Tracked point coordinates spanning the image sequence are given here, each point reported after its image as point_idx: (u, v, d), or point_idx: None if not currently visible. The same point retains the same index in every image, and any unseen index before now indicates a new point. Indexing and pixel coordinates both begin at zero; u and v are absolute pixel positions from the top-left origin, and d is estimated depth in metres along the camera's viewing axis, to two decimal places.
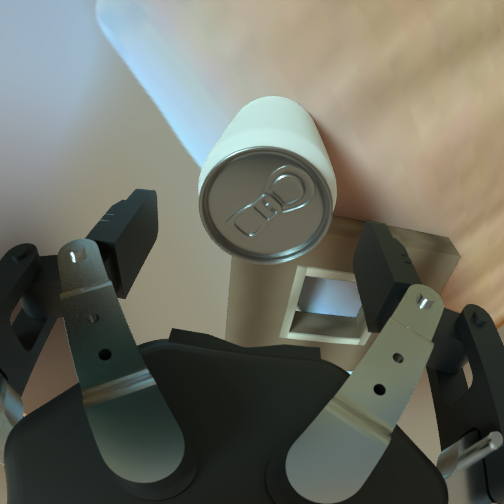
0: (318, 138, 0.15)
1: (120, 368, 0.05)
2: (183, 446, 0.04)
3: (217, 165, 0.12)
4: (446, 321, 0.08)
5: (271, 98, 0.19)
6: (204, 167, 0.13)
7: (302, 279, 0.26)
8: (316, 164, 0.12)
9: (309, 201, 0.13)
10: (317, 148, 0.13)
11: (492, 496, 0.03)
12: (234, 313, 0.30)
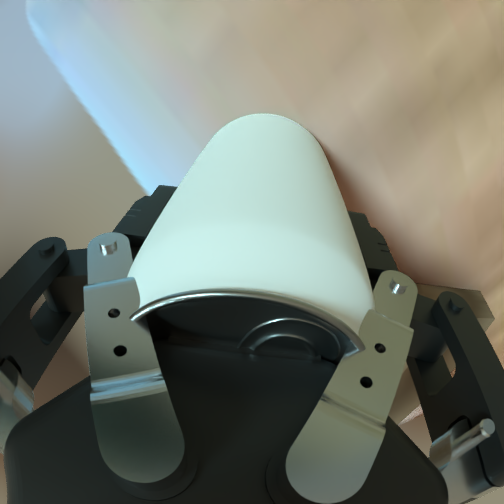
0: (342, 211, 0.08)
1: (133, 366, 0.05)
2: (182, 452, 0.03)
3: (134, 318, 0.05)
4: (421, 307, 0.08)
5: (260, 119, 0.13)
6: None
7: None
8: (347, 307, 0.06)
9: None
10: (349, 261, 0.06)
11: (491, 481, 0.04)
12: None
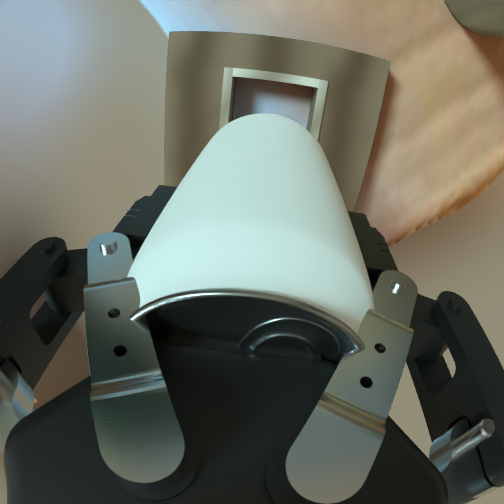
0: (342, 211, 0.08)
1: (134, 366, 0.05)
2: (182, 452, 0.03)
3: (134, 318, 0.05)
4: (421, 307, 0.08)
5: (260, 118, 0.13)
6: None
7: (230, 81, 0.25)
8: (346, 307, 0.06)
9: None
10: (348, 261, 0.06)
11: (491, 480, 0.04)
12: (170, 132, 0.28)
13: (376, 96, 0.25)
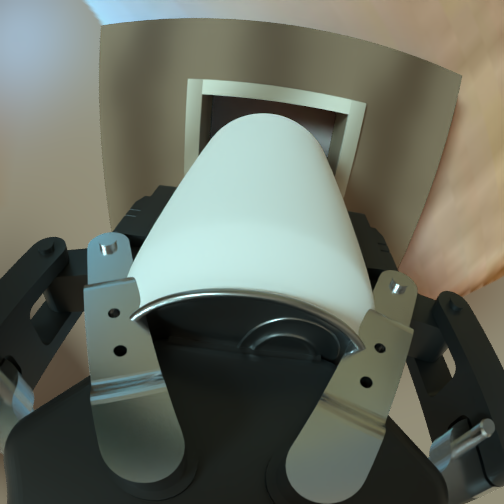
0: (342, 211, 0.08)
1: (133, 366, 0.05)
2: (182, 452, 0.03)
3: (134, 318, 0.05)
4: (421, 307, 0.08)
5: (260, 118, 0.13)
6: None
7: (198, 102, 0.15)
8: (346, 306, 0.06)
9: None
10: (349, 261, 0.06)
11: (491, 480, 0.04)
12: (113, 185, 0.18)
13: (438, 131, 0.15)
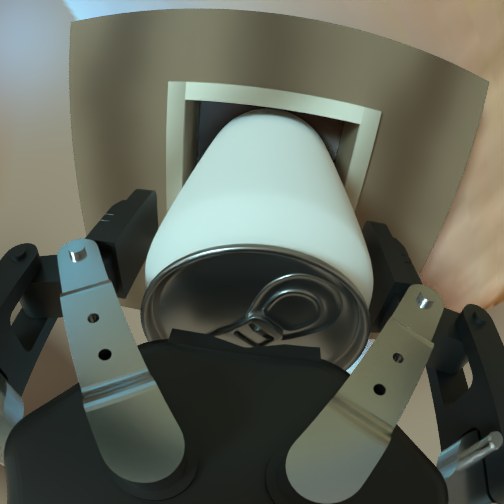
0: (342, 191, 0.09)
1: (120, 368, 0.05)
2: (183, 446, 0.04)
3: (161, 275, 0.06)
4: (446, 321, 0.08)
5: (265, 113, 0.14)
6: (148, 258, 0.08)
7: (181, 109, 0.12)
8: (348, 265, 0.07)
9: (330, 325, 0.07)
10: (348, 228, 0.07)
11: (492, 496, 0.03)
12: (89, 204, 0.16)
13: (461, 145, 0.12)
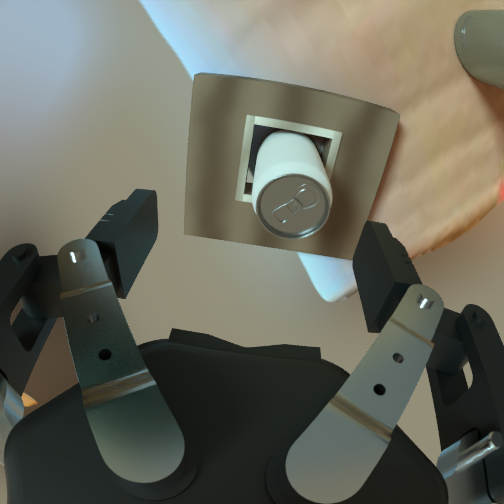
0: (321, 165, 0.25)
1: (120, 368, 0.05)
2: (183, 446, 0.04)
3: (269, 182, 0.22)
4: (446, 321, 0.08)
5: (289, 132, 0.30)
6: (258, 182, 0.24)
7: (251, 128, 0.28)
8: (322, 183, 0.23)
9: (317, 203, 0.23)
10: (322, 173, 0.23)
11: (492, 496, 0.03)
12: (192, 172, 0.32)
13: (384, 147, 0.28)
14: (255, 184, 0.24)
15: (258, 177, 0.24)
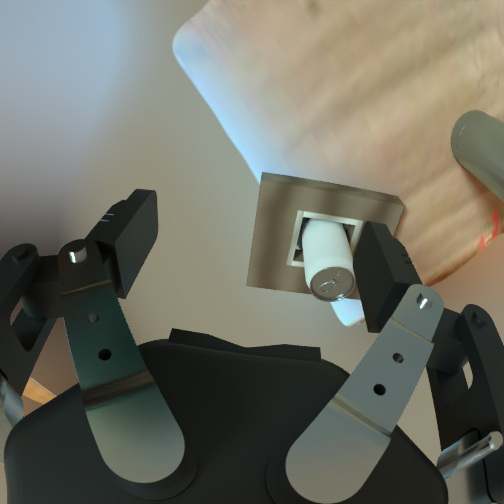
0: (349, 252, 0.39)
1: (120, 368, 0.05)
2: (183, 446, 0.04)
3: (319, 272, 0.36)
4: (446, 321, 0.08)
5: None
6: (311, 268, 0.37)
7: (301, 219, 0.42)
8: (350, 270, 0.36)
9: (347, 281, 0.37)
10: (351, 262, 0.37)
11: (492, 496, 0.03)
12: (256, 246, 0.46)
13: (391, 228, 0.42)
14: (309, 269, 0.38)
15: (311, 265, 0.38)
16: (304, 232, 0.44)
